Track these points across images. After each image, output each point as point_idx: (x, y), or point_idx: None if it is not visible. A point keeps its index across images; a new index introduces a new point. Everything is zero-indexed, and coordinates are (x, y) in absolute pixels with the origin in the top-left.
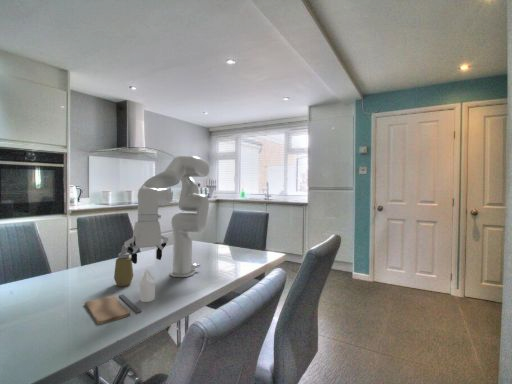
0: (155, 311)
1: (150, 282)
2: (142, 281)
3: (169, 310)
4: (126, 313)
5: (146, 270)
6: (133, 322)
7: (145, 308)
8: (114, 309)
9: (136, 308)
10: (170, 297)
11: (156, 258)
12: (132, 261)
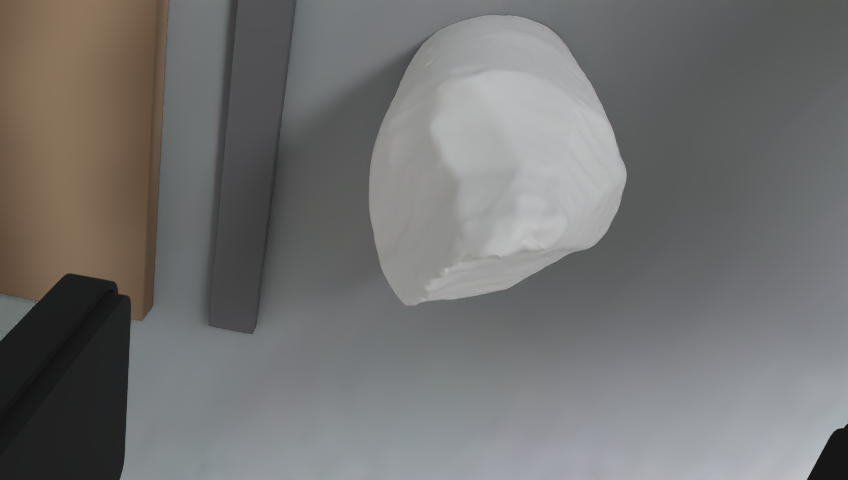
0: (359, 404)
1: (468, 294)
2: (387, 199)
3: (453, 473)
4: None
5: (485, 256)
6: (126, 424)
7: (329, 289)
8: (42, 135)
9: (246, 256)
10: (678, 268)
11: (836, 432)
12: (64, 292)
